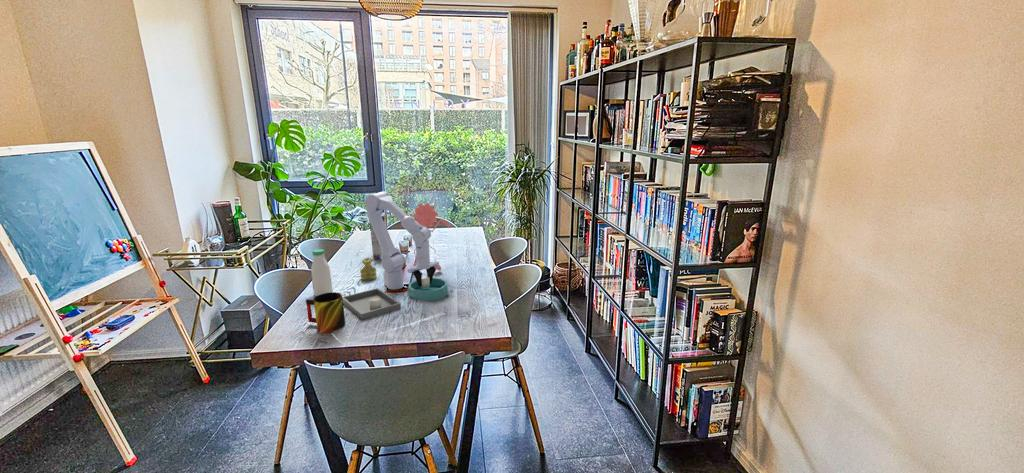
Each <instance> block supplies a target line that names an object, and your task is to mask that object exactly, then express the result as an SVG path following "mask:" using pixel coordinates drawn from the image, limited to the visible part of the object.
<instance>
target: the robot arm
mask: <svg viewBox="0 0 1024 473" xmlns="http://www.w3.org/2000/svg"><path fill="white" fill-rule="evenodd" d="M364 206H365V207H366V215H367V218H368V221H369V224H370V223H371V226H372V228H373V230H374V233H375V235H376V237H377V240H378V242H379V244H380V247H381V249H382V251H383V252H382V255H381V259H380V260H381V266H382V269H383V270H384V271H383V283H384V286H385V287H386V288H387V289H389V290H401V289H403V287H404V288H406V289H408V286H406V285H405V284H404V274H403V266H404V264H405V261H406V259H405V256H404V255H403V253H402V252H401V251H400V249H399V248H397V247H395V245H394V243H393V240H392V238H391V236H390V233H389V231H388V227H387V228H386V226H385V224H384V221H383V219H382V216H381V213H382V212H384V211H383V210H385V211H388V212H389V213H390V214H392V215H393V216H394V217H395V218H396V219H398V220H399V221H400V224H401V227H402V228H404V229H405V231H407V232H408V233H409V234H410V235H411V239H412V240H413V242H414V246H415V249H416V250H415V255H416V258H415V260H416V259H417V265H415V266H413V265H412V266H410V267H407V273H409V274H412V275H413V276H414V277H415V280H417V283H418V286H420V287H422V281H421V279H422V277H423V273H422V272H421V271H423V270H425V271H426V276H428V277H430V284H431V283H432V278H434V275H435V273H436V271H437V269H436V268H434V267H436V266H437V267H438V266H439V265H440V262H439V261H438V260H437V261H436V260H435V261H431V258H430V257H431V256H430V254H431V253H430V238H431V236H432V232H431V231H430V230H431V229H429V227H427V226H426V227H423V226H422V225H421V224H419V223H418V222H417V221H416V220H417V219H415V218H414V217H413V215H412V216H411V215H408V216H407V215H406V213H405V212H404V211H403V210H402V209H401V208H400V206H399V205H397V204H396V202H395V201H394V199H393V197H392V196H391V195H390V194H389V193H388V192H386V191H385V190H384V191H380V192H376V193H369V194H368V195H367V196H366V198H365V200H364ZM404 285H405V286H404Z"/></svg>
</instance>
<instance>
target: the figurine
mask: <svg viewBox="0 0 1024 473" xmlns="http://www.w3.org/2000/svg"><path fill="white" fill-rule="evenodd" d="M435 209H436V207H435V205H430V203H429V202H426V203H424V205H423V204H422V202H419V203H418V205H417V207H415V208H414V212H415V213H414V214H412V217H414V218H415V220H416V221H417V222H418V223H419V224H420V225H422V226H423V227H427V226H428V228H432V227H433V225H434V223H435V224H436V225H435V226H434V228H433V229H432V230H431V229H429V230H430V232H431V233H433V232H434V230H436V228H437V227H438V225H439V224H440V223H442V224H443V225H444V226H446V227H448V228H449V229H450V228H451V224H449V223H448V222H447V221H446V220H445V219H443V218H440V219H439V221H438V219H437V216H439V213H438V212H437V211H436V210H435ZM405 214H406V215H407V216H409V214H408V212H406V213H405ZM429 248H431V249H432V250H434V253H436V249H435V248H434V247H433V246H431V245H429ZM413 252H414V257H415V262H414V263H413V264H412V266H415V265H417V259H416V248H414V249H413ZM434 268H436V271H439V272H441V270H442V266H441V265H440V264H439V266H438V267H437V266H436V267H434ZM444 276H446V273H445V274H444Z"/></svg>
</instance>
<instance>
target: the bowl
mask: <svg viewBox="0 0 1024 473" xmlns="http://www.w3.org/2000/svg"><path fill="white" fill-rule="evenodd" d="M407 290H408V296H409V297H411V299H415V300H421V301H427V302H435V301H438V300H441V299H444V298H445V297H446V296H448V295H449V293H448V291H449V290H448V281H447V280H446V279H443V278H442V277H441V278H440V277H433V278H432V283H431V284H430V287H429V288H420V286H418V283H417V280H416V279H414V280H412V281H410V282H409V284H408V286H407Z"/></svg>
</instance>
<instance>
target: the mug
mask: <svg viewBox="0 0 1024 473" xmlns="http://www.w3.org/2000/svg"><path fill="white" fill-rule="evenodd" d="M342 297H343V294H342V293H341V292H335V291H334V292H331V293H324V294H321V295H318V296H314V298H313V299H309V298H306V299H305V302H306V311H307V318H308V319H307V320H308V323H313V324H314V323H315V324H316V328H317V333H320V334H324V335H325V334H334V331H338V330H341V329H342V328H344V326H346V317H345V309H344V304H343V298H342ZM312 306H314V312H315V317H313V314H312Z"/></svg>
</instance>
